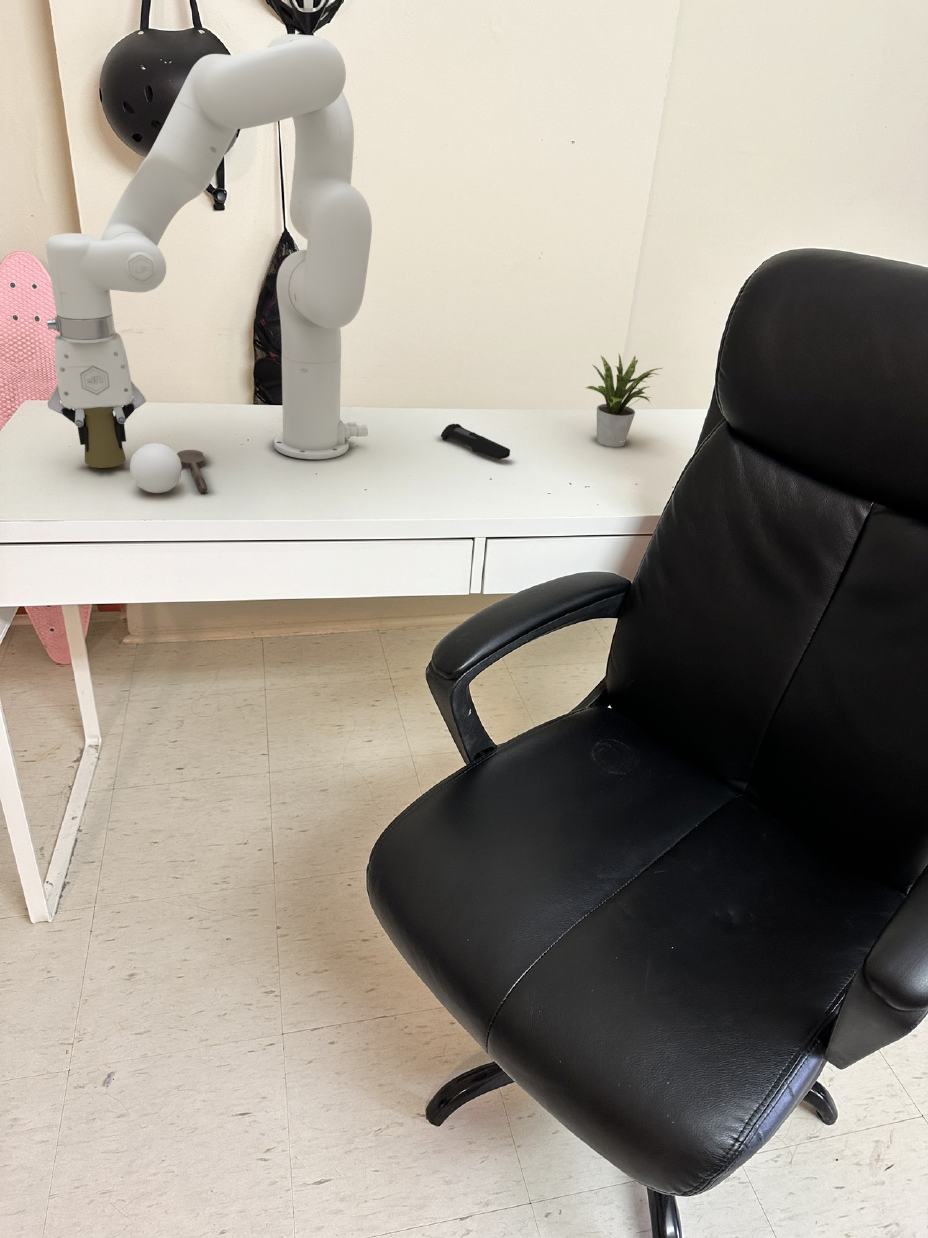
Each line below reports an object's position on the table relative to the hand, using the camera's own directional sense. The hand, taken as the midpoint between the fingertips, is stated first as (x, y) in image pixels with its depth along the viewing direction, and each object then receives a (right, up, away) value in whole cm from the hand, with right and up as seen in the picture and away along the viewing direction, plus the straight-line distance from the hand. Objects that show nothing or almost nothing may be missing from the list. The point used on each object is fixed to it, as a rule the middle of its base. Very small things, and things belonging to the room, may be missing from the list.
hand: (103, 446), depth 145 cm
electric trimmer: (+57, +3, +22) cm, 61 cm away
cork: (0, -2, +1) cm, 2 cm away
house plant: (+83, +6, +30) cm, 89 cm away
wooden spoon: (+14, -4, +2) cm, 14 cm away
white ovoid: (+9, -7, -4) cm, 12 cm away
